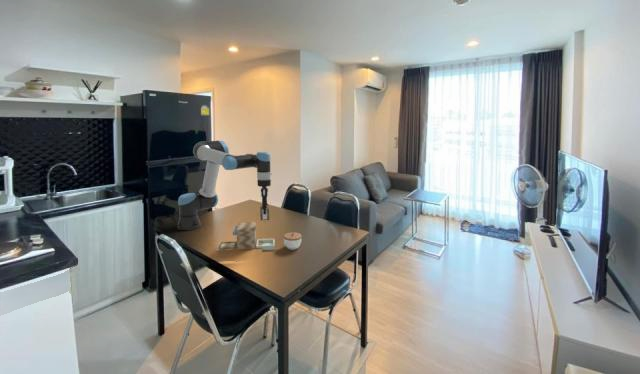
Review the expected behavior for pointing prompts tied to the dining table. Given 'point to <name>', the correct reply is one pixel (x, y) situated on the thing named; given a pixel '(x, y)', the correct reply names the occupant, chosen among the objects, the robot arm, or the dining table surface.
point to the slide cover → (235, 230)
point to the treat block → (267, 213)
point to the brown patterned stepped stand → (241, 238)
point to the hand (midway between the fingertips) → (265, 217)
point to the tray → (266, 244)
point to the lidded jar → (292, 240)
